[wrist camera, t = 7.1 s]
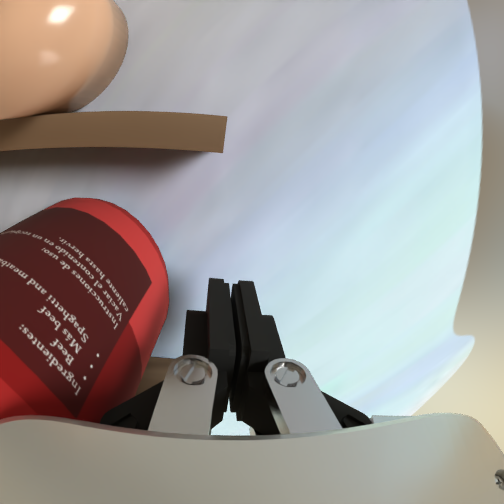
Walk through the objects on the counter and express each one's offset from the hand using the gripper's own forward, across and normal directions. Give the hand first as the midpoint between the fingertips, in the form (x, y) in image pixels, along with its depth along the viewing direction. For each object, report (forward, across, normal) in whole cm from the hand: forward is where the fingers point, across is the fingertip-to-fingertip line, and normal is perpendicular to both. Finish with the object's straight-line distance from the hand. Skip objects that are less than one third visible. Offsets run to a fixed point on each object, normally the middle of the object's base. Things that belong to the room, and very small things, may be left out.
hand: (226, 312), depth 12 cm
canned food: (+3, +6, 0) cm, 7 cm away
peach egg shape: (+3, +8, -10) cm, 13 cm away
